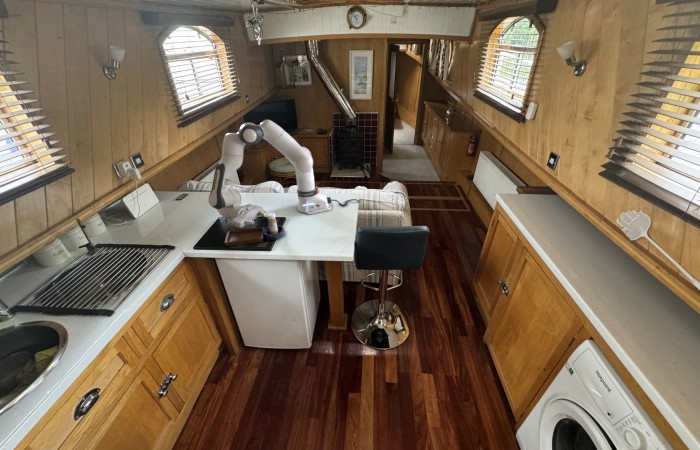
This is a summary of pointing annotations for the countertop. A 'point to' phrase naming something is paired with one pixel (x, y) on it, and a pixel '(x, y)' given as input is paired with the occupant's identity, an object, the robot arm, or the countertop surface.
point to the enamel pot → (274, 237)
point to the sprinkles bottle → (272, 223)
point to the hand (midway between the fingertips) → (259, 219)
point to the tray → (245, 236)
